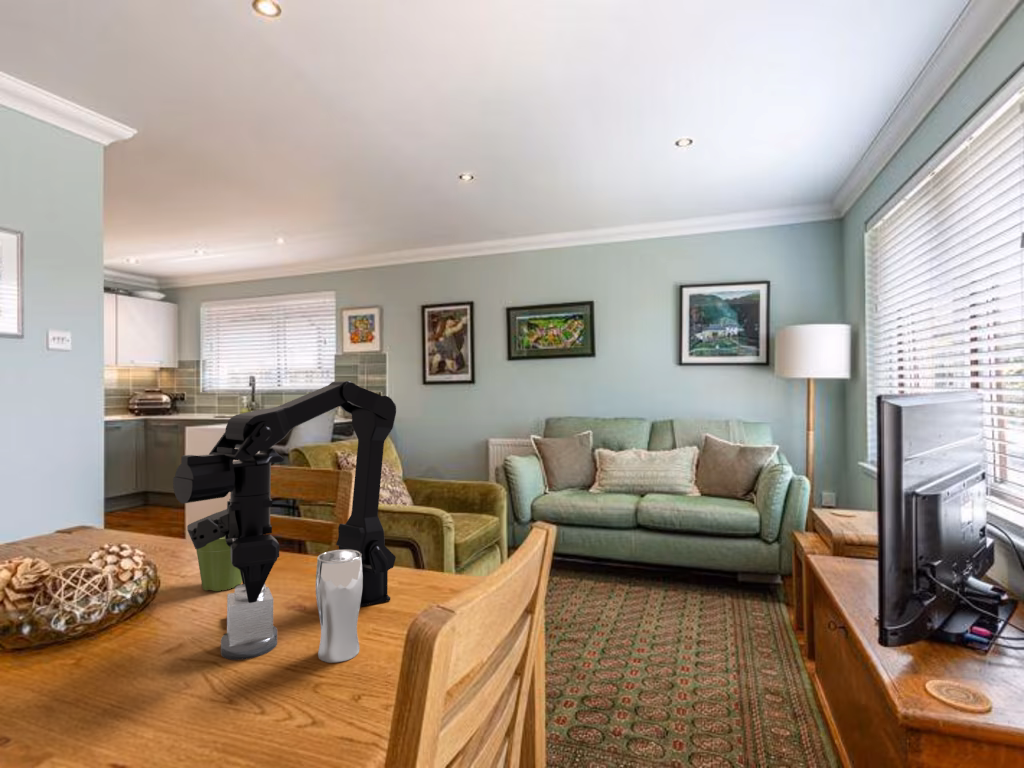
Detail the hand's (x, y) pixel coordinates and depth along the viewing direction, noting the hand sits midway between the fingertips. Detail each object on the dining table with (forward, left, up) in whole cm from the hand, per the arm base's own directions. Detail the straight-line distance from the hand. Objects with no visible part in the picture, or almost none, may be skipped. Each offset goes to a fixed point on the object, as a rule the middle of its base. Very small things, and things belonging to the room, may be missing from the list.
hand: (249, 592), depth 85 cm
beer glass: (-12, +9, -9) cm, 17 cm away
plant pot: (+2, -33, -9) cm, 34 cm away
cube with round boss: (0, 0, -7) cm, 7 cm away
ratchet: (0, -5, -9) cm, 10 cm away
